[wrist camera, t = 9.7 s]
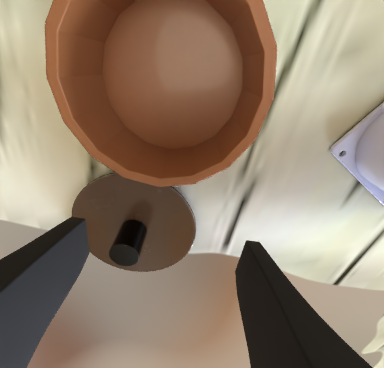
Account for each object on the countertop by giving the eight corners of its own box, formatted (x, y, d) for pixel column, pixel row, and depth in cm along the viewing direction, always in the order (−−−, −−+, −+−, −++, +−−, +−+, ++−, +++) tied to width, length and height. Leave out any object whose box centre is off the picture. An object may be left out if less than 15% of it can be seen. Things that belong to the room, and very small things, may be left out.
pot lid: (220, 216, 22) (225, 249, 18) (153, 278, 26) (145, 315, 22) (113, 142, 18) (90, 162, 14) (58, 228, 23) (29, 261, 19)
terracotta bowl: (282, 68, 15) (326, 68, 10) (185, 176, 20) (181, 216, 14) (152, -73, 12) (119, -176, 7) (71, 93, 16) (12, 105, 11)
